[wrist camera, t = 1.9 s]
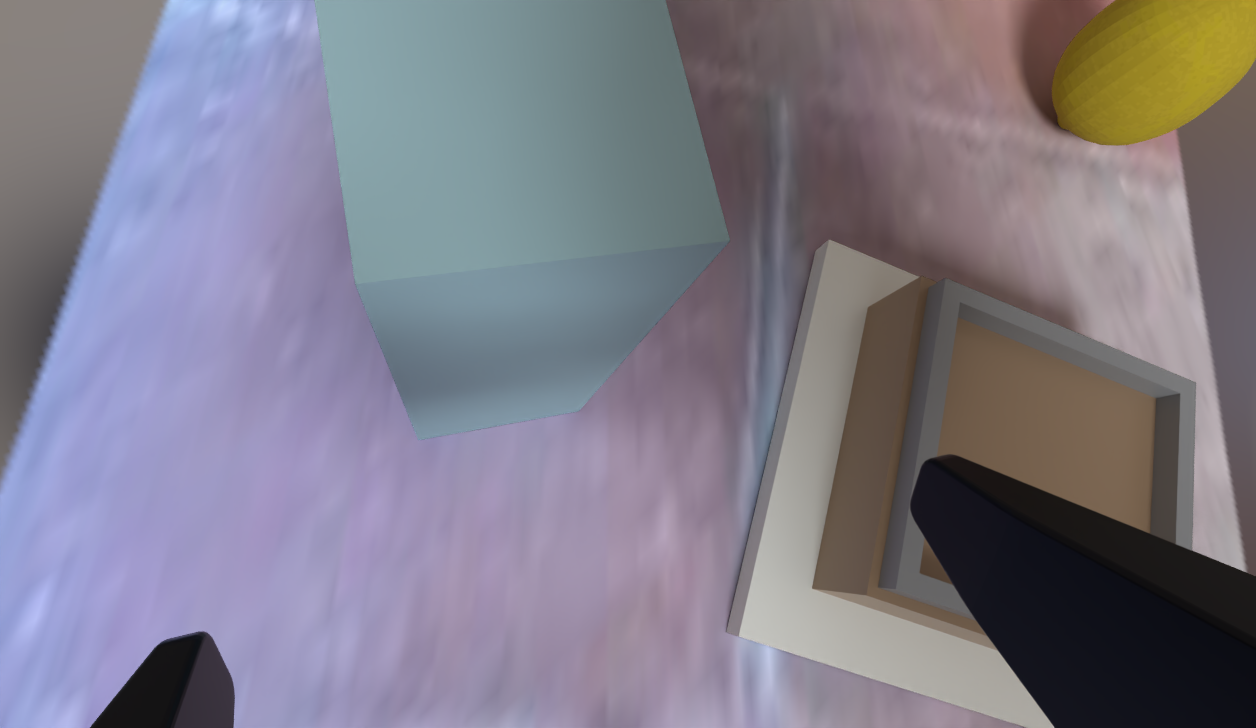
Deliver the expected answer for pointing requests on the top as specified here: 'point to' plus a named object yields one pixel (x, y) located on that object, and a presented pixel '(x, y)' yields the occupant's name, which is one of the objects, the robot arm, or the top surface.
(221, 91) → the top surface
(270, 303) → the top surface
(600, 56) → the pillar
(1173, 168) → the top surface
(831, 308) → the build base
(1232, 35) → the lemon
